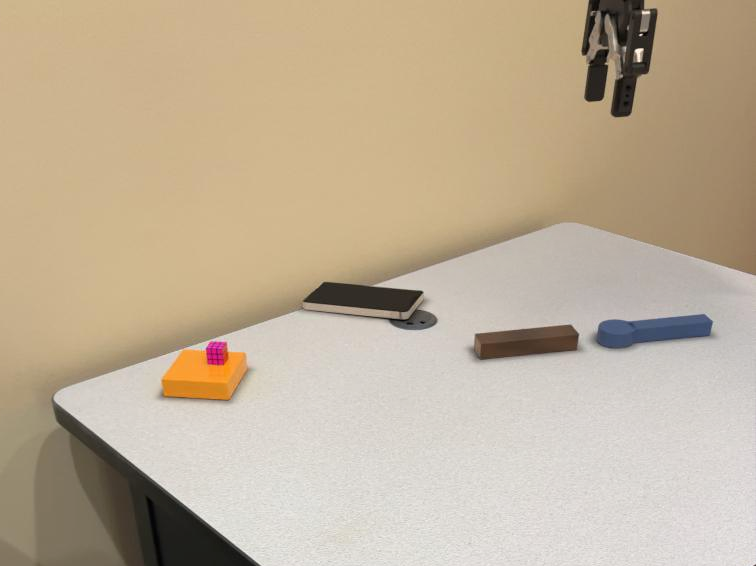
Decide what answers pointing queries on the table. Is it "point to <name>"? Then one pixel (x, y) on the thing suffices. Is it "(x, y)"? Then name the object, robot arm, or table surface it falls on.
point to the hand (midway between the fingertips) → (606, 108)
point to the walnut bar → (526, 341)
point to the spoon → (651, 330)
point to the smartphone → (364, 300)
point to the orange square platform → (205, 373)
